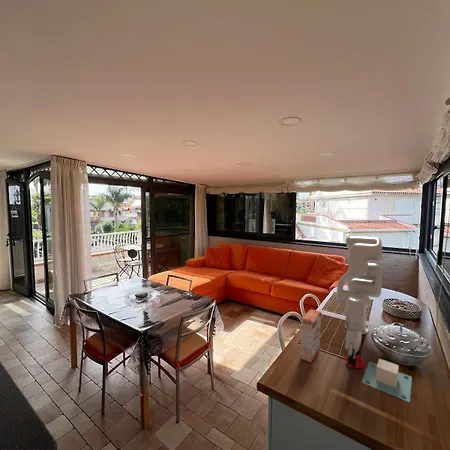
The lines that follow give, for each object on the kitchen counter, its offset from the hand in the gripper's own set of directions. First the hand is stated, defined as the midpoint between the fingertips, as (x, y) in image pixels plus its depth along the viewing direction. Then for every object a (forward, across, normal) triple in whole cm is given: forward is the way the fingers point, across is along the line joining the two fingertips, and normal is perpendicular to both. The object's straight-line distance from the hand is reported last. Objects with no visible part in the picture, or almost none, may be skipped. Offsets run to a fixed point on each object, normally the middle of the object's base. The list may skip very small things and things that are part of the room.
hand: (353, 361), depth 109 cm
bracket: (+1, 0, +1) cm, 1 cm away
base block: (+2, +1, +13) cm, 13 cm away
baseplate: (+3, +1, +13) cm, 13 cm away
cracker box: (+3, +3, -19) cm, 19 cm away
